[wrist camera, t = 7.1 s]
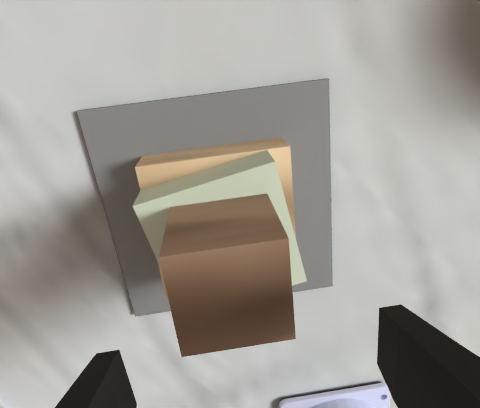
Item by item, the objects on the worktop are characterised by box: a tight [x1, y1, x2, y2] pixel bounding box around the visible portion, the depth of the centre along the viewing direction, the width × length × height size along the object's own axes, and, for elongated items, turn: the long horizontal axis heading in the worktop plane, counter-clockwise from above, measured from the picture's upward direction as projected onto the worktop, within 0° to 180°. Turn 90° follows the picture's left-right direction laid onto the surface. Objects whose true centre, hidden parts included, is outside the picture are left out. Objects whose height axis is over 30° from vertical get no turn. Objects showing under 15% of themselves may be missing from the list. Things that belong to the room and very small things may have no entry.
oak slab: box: [135, 137, 296, 296], centre depth 18 cm, size 7×7×2 cm
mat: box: [77, 79, 333, 316], centre depth 19 cm, size 12×12×1 cm
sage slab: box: [133, 150, 307, 286], centre depth 16 cm, size 6×6×2 cm
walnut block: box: [159, 194, 296, 357], centre depth 13 cm, size 4×4×4 cm
